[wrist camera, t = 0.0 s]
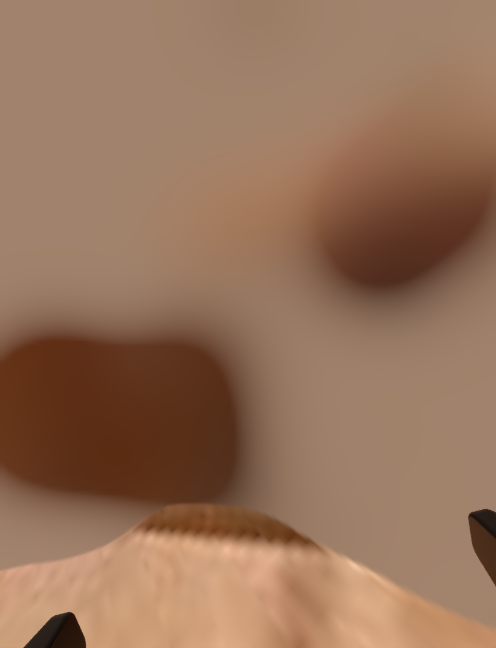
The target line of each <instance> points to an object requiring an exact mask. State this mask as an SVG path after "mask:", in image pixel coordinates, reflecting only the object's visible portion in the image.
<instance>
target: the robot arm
mask: <svg viewBox="0 0 496 648" xmlns="http://www.w3.org/2000/svg"><path fill="white" fill-rule="evenodd" d="M468 519H469V526H470V533H471V540H472V545H473V548H474V551H475V553H476V555H477V556H478V558H479V560H480V562H481V563H482V565H483V566H484V568H485V570H486V571H487V573H488V574H489V576H490V578H491V579H492V581H493V583H494V584H495V586H496V512H494V511H492V510H488V509H483V510H479V511H475V512H471V513H470V514H469V516H468ZM24 648H86V641H85V637H84V635H83V633H82V630H81V628H80V626H79V624H78V621H77V619H76V617H75V615H74V614H73V613H72V612H67V613H63V614H59V615H55V616H53V617H52V618H51V619H50V620H49V621H48V622H47V623H46V624H45V625H44V626H43V627H42V628H41V629H40V630H39V631H38V632H37V634H36V635H35V636H34V637H33V638H32V639H31V640H30V641H29V642H28V643H27V644H26V646H25V647H24Z"/></svg>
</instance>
